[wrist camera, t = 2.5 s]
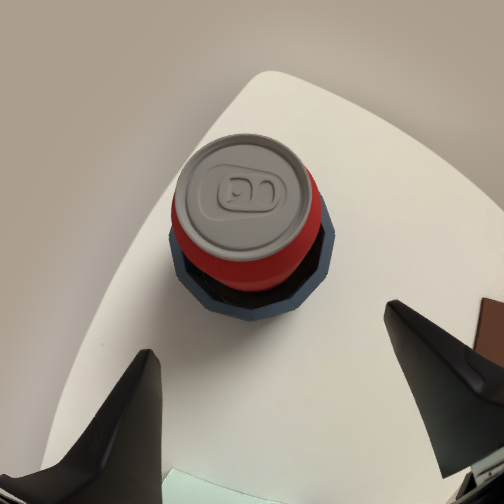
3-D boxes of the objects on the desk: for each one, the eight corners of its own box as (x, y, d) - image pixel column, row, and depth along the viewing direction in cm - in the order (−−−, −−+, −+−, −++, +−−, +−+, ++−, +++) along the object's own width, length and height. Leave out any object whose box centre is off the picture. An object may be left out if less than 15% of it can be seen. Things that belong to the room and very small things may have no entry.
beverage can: (216, 209, 23) (174, 121, 11) (298, 214, 23) (326, 125, 11) (208, 291, 22) (145, 271, 10) (295, 298, 21) (329, 285, 10)
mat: (510, 386, 18) (512, 387, 18) (463, 387, 19) (465, 388, 18) (525, 309, 20) (527, 309, 19) (482, 297, 20) (484, 297, 20)
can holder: (301, 329, 21) (312, 336, 16) (177, 297, 22) (151, 293, 17) (327, 208, 23) (344, 180, 17) (212, 182, 24) (198, 149, 18)
